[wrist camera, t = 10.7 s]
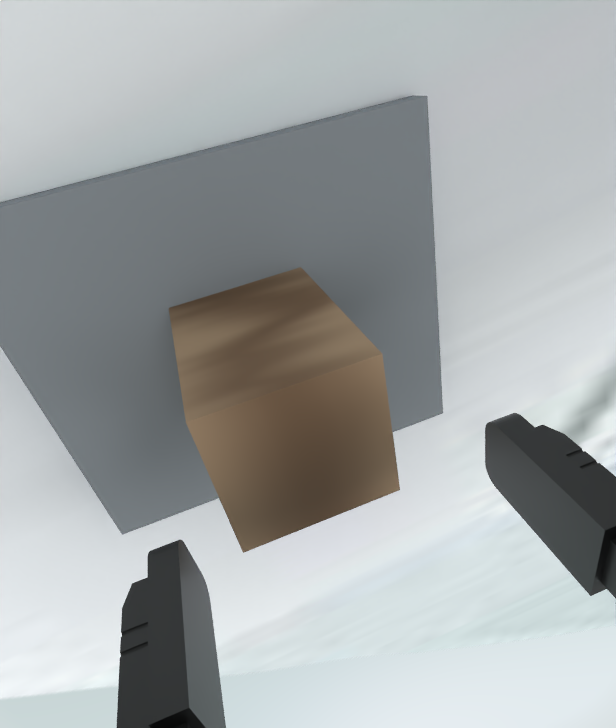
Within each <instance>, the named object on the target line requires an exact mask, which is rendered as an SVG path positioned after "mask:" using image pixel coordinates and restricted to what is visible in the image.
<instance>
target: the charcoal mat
mask: <svg viewBox="0 0 616 728" xmlns="http://www.w3.org/2000/svg"><path fill="white" fill-rule="evenodd" d="M300 267H301V268H302V269H303V270H304V271H305V272H306V273H307V274H308V275H309V276H310V277H311V278H312V279H313V280H314V282H315V283H316V284H317V285H318V286H319V287H320V288H321V289H322V290H323V291H324V292H325V293H326V294H327V295H328V296H329V298H330V299H331V300H332V301H333V302H334V303H335V304H336V305H337V306H338V307H339V308H340V309H341V310H342V311H343V312H344V313H345V315H346V316H347V317H348V318H349V319H350V320H351V321H352V322H353V323H354V324H355V325H356V326H357V327H358V328H359V329H360V330H361V332H362V333H363V334H364V335H365V336H366V337H367V338H368V339H369V340H370V341H371V342H372V343H373V344H374V345H375V346H376V348H377V349H378V350H379V351H380V352H381V353H382V355H383V363H384V371H385V378H386V386H387V394H388V402H389V409H390V417H391V425H392V432H394V431H397V430H400V429H402V428H405V427H407V426H410V425H413V424H415V423H418V422H421V421H423V420H426V419H429V418H431V417H434V416H437V415H439V414H442V413H443V407H442V386H441V366H440V346H439V326H438V305H437V285H436V265H435V245H434V224H433V204H432V184H431V164H430V143H429V123H428V103H427V96H410V97H406V98H402V99H399V100H395V101H391V102H387V103H383V104H379V105H375V106H372V107H368V108H364V109H360V110H356V111H352V112H348V113H345V114H341V115H337V116H333V117H329V118H325V119H321V120H318V121H314V122H310V123H306V124H302V125H298V126H294V127H291V128H287V129H283V130H279V131H275V132H271V133H267V134H264V135H260V136H256V137H252V138H248V139H244V140H240V141H237V142H233V143H229V144H225V145H221V146H217V147H213V148H210V149H206V150H202V151H198V152H194V153H190V154H186V155H183V156H179V157H175V158H171V159H167V160H163V161H159V162H156V163H152V164H148V165H144V166H140V167H136V168H132V169H129V170H125V171H121V172H117V173H113V174H109V175H105V176H102V177H98V178H94V179H90V180H86V181H82V182H78V183H74V184H71V185H67V186H63V187H59V188H55V189H51V190H47V191H44V192H40V193H36V194H32V195H28V196H24V197H20V198H17V199H13V200H9V201H5V202H1V203H0V346H1V348H2V349H3V351H4V352H5V354H6V356H7V357H8V359H9V360H10V362H11V363H12V365H13V366H14V368H15V369H16V371H17V373H18V374H19V376H20V377H21V379H22V380H23V382H24V383H25V385H26V386H27V388H28V390H29V391H30V393H31V394H32V396H33V397H34V399H35V400H36V402H37V403H38V405H39V407H40V408H41V410H42V411H43V413H44V414H45V416H46V417H47V419H48V420H49V422H50V424H51V425H52V427H53V428H54V430H55V431H56V433H57V434H58V436H59V437H60V439H61V441H62V442H63V444H64V445H65V447H66V448H67V450H68V451H69V453H70V455H71V456H72V458H73V459H74V461H75V462H76V464H77V465H78V467H79V468H80V470H81V472H82V473H83V475H84V476H85V478H86V479H87V481H88V482H89V484H90V485H91V487H92V489H93V490H94V492H95V493H96V495H97V496H98V498H99V499H100V501H101V502H102V504H103V506H104V507H105V509H106V510H107V512H108V513H109V515H110V516H111V518H112V519H113V521H114V523H115V524H116V526H117V527H118V529H119V530H120V532H121V533H122V534H125V533H128V532H130V531H133V530H136V529H138V528H141V527H143V526H146V525H149V524H151V523H154V522H157V521H159V520H162V519H165V518H167V517H170V516H173V515H175V514H178V513H180V512H183V511H186V510H188V509H191V508H194V507H196V506H199V505H202V504H204V503H207V502H209V501H212V500H215V499H217V498H219V496H218V494H217V492H216V490H215V487H214V485H213V483H212V481H211V478H210V476H209V474H208V471H207V469H206V467H205V465H204V462H203V460H202V458H201V456H200V453H199V451H198V449H197V446H196V444H195V442H194V440H193V437H192V435H191V433H190V431H189V428H188V426H187V424H186V420H185V413H184V407H183V400H182V393H181V387H180V380H179V374H178V367H177V361H176V354H175V347H174V341H173V334H172V328H171V321H170V314H169V308H170V307H174V306H177V305H180V304H183V303H186V302H190V301H193V300H196V299H199V298H203V297H206V296H209V295H212V294H216V293H219V292H222V291H225V290H229V289H232V288H235V287H238V286H241V285H245V284H248V283H251V282H254V281H258V280H261V279H264V278H267V277H271V276H274V275H277V274H280V273H284V272H287V271H290V270H293V269H296V268H300Z"/></svg>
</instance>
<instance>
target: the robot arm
mask: <svg viewBox="0 0 616 728" xmlns="http://www.w3.org/2000/svg"><path fill="white" fill-rule="evenodd" d="M485 463H486V469H487V472H488V475H489V477H490V479H491V481H492V483H493V484H494V486H495V487H496V488H497V489H498V490H499V492H500V493H501V494H502V495H503V496H504V497H505V498H506V500H507V501H508V502H509V503H510V504H511V505H512V506H513V508H514V509H515V510H516V511H517V512H518V513H519V514H520V516H521V517H522V518H523V519H524V520H525V521H526V522H527V524H528V525H529V526H530V527H531V528H532V529H533V530H534V532H535V533H536V534H537V535H538V536H539V537H540V538H541V540H542V541H543V542H544V543H545V544H546V545H547V547H548V548H549V549H550V550H551V551H552V552H553V553H554V555H555V556H556V557H557V558H558V559H559V560H560V561H561V563H562V564H563V565H564V566H565V567H566V568H567V569H568V571H569V572H570V573H571V574H572V575H573V576H574V577H575V579H576V580H577V581H578V582H579V583H580V584H581V585H582V587H583V588H584V589H585V590H586V591H587V592H588V593H589V595H590V596H592V595H594V594H596V593H598V592H601V591H603V590H605V589H608V590H609V592H610V593H611V594H612V595H613V596H614V597H615V598H616V477H615V476H614V475H613V474H612V473H611V472H609V471H608V470H607V469H606V468H605V467H603V466H602V465H601V464H600V463H597V462H596V460H595V459H594V458H593V457H591V456H590V455H589V454H588V453H587V452H583V451H582V448H580V447H579V446H578V445H577V444H576V443H574V442H573V441H572V440H571V439H570V438H568V437H567V436H566V435H565V434H563V433H560V432H558V431H556V430H554V429H551V428H549V427H547V426H544V425H541V426H538V427H536V428H535V427H534V426H532V425H531V424H530V423H529V422H528V421H527V420H526V419H524V418H523V417H522V416H521V415H519V414H517V413H513V414H510V415H507V416H505V417H502V418H499V419H497V420H494V421H492V422H489V423H487V425H486V428H485ZM615 604H616V602H615ZM121 633H122V637H121V647H120V653H121V657H120V669H119V691H118V712H117V728H226V725H225V717H224V709H223V702H222V693H221V685H220V677H219V669H218V660H217V652H216V644H215V636H214V628H213V620H212V612H211V604H210V597H209V593H208V589H207V585H206V582H205V580H204V577H203V575H202V573H201V572H200V570H199V568H198V566H197V565H196V563H195V561H194V559H193V558H192V556H191V554H190V552H189V551H188V549H187V547H186V545H185V544H184V542H183V541H182V540H178V541H175V542H173V543H170V544H167V545H165V546H162V547H160V548H157V549H154V550H152V551H150V552H149V554H148V578H145V579H143V580H140V581H138V582H135V583H132V586H131V588H130V591H129V593H128V595H127V598H126V600H125V603H124V605H123V608H122V626H121Z"/></svg>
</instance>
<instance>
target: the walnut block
mask: <svg viewBox="0 0 616 728" xmlns="http://www.w3.org/2000/svg"><path fill="white" fill-rule="evenodd" d="M169 314H170V321H171V328H172V334H173V341H174V347H175V354H176V361H177V367H178V374H179V380H180V387H181V393H182V400H183V407H184V413H185V420H186V424H187V426H188V428H189V431H190V433H191V435H192V437H193V440H194V442H195V444H196V446H197V449H198V451H199V453H200V456H201V458H202V460H203V462H204V465H205V467H206V469H207V471H208V474H209V476H210V478H211V481H212V483H213V485H214V487H215V490H216V492H217V494H218V496H219V499H220V501H221V503H222V505H223V508H224V510H225V512H226V515H227V517H228V519H229V521H230V524H231V526H232V528H233V530H234V533H235V535H236V537H237V540H238V542H239V544H240V546H241V549H242V551H243V553H244V552H246V551H249V550H251V549H254V548H256V547H259V546H261V545H264V544H266V543H269V542H271V541H273V540H276V539H278V538H281V537H283V536H286V535H288V534H291V533H293V532H296V531H298V530H301V529H303V528H306V527H308V526H311V525H313V524H316V523H318V522H321V521H323V520H326V519H328V518H331V517H333V516H336V515H338V514H341V513H343V512H346V511H348V510H351V509H353V508H356V507H358V506H361V505H363V504H366V503H368V502H371V501H373V500H376V499H378V498H381V497H383V496H386V495H388V494H391V493H393V492H396V491H398V490H400V487H399V479H398V471H397V464H396V456H395V448H394V440H393V433H392V425H391V417H390V409H389V402H388V394H387V386H386V378H385V371H384V363H383V355H382V353H381V352H380V351H379V350H378V349H377V348H376V346H375V345H374V344H373V343H372V342H371V341H370V340H369V339H368V338H367V337H366V336H365V335H364V334H363V333H362V332H361V330H360V329H359V328H358V327H357V326H356V325H355V324H354V323H353V322H352V321H351V320H350V319H349V318H348V317H347V316H346V315H345V313H344V312H343V311H342V310H341V309H340V308H339V307H338V306H337V305H336V304H335V303H334V302H333V301H332V300H331V299H330V298H329V296H328V295H327V294H326V293H325V292H324V291H323V290H322V289H321V288H320V287H319V286H318V285H317V284H316V283H315V282H314V280H313V279H312V278H311V277H310V276H309V275H308V274H307V273H306V272H305V271H304V270H303V269H302V268H301V267H300V268H296V269H293V270H290V271H287V272H284V273H280V274H277V275H274V276H271V277H267V278H264V279H261V280H258V281H254V282H251V283H248V284H245V285H241V286H238V287H235V288H232V289H229V290H225V291H222V292H219V293H216V294H212V295H209V296H206V297H203V298H199V299H196V300H193V301H190V302H186V303H183V304H180V305H177V306H174V307H170V308H169Z"/></svg>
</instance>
